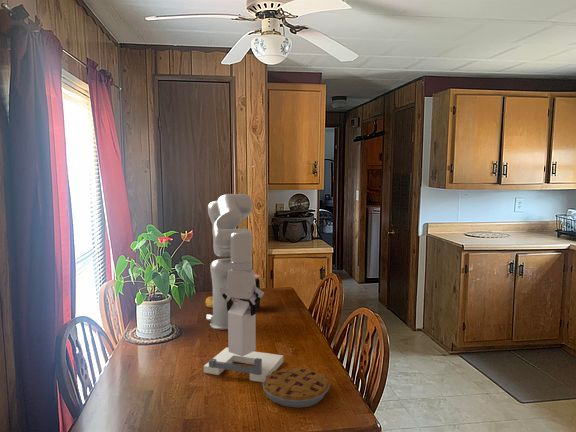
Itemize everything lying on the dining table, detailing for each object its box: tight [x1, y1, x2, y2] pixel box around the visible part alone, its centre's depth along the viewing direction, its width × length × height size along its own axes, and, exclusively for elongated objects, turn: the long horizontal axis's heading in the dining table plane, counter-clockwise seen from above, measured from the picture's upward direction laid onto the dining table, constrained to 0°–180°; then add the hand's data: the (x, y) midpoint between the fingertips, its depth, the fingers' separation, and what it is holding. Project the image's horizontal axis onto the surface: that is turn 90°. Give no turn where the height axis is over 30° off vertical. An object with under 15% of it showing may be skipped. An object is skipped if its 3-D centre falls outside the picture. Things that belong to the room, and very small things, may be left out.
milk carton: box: [227, 298, 257, 356], centre depth 164 cm, size 7×7×19 cm
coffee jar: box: [238, 273, 261, 312], centre depth 235 cm, size 11×11×18 cm
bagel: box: [205, 296, 213, 309], centre depth 242 cm, size 10×11×5 cm
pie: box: [262, 366, 331, 408], centre depth 148 cm, size 22×22×5 cm
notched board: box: [203, 347, 284, 383], centre depth 167 cm, size 24×18×2 cm
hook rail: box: [208, 357, 262, 375], centre depth 159 cm, size 20×2×5 cm, turn 71°
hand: (241, 313), depth 163 cm, fingers closed on milk carton, 8 cm apart
